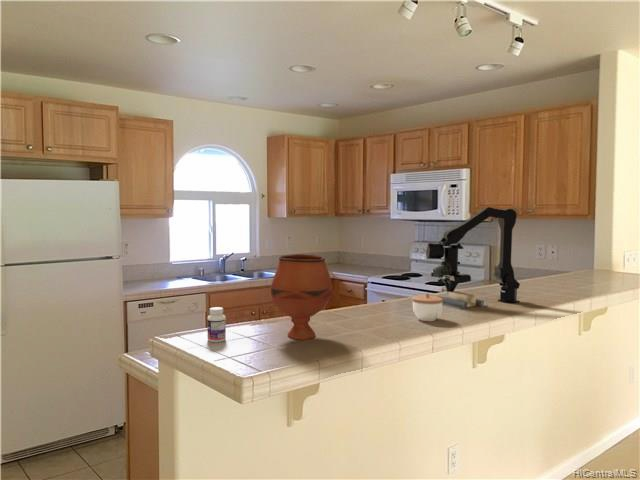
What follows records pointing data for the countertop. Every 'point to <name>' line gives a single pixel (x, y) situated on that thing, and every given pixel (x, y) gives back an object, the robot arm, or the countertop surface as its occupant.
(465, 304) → the chute
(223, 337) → the pill bottle
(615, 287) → the countertop surface
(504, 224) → the robot arm
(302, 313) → the goblet
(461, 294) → the ash block
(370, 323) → the countertop surface
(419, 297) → the lidded jar
